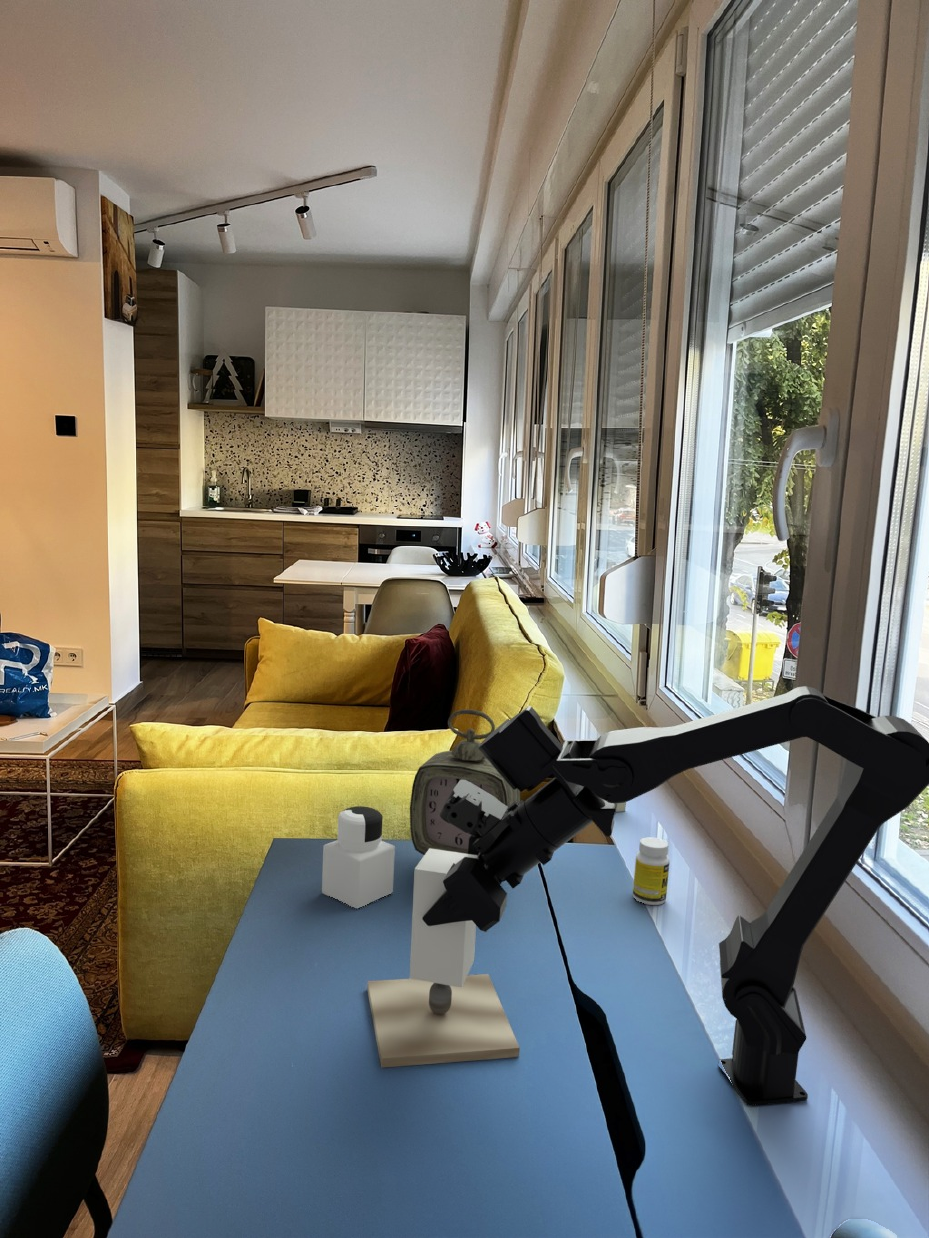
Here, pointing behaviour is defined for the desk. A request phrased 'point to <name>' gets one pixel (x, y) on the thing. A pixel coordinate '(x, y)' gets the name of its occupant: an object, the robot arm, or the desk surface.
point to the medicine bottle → (358, 859)
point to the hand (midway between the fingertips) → (433, 909)
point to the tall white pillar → (439, 926)
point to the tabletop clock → (439, 782)
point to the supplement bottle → (651, 871)
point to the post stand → (439, 1022)
